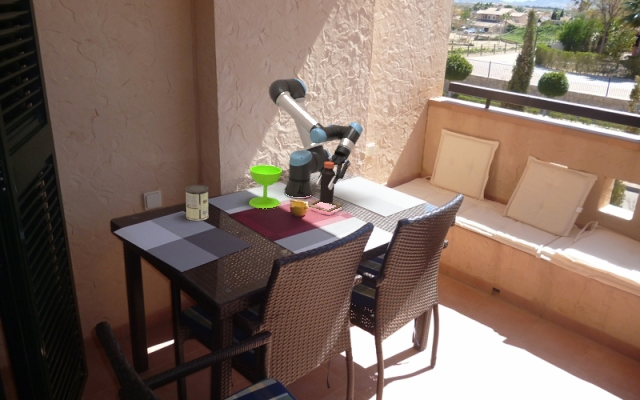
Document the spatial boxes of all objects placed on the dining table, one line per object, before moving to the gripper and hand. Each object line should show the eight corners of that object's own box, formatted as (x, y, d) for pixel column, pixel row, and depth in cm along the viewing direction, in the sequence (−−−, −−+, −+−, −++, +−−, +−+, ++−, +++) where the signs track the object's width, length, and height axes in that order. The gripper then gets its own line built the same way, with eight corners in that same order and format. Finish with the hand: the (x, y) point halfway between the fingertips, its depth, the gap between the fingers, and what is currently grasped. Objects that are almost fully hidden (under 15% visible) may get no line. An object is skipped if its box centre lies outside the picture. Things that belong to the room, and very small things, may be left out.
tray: (307, 209, 258) (307, 204, 258) (321, 202, 269) (321, 198, 268) (328, 215, 252) (329, 211, 251) (342, 209, 262) (342, 204, 262)
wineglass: (278, 210, 254) (280, 175, 248) (246, 207, 254) (247, 173, 248) (281, 199, 269) (283, 166, 263) (251, 197, 269) (252, 164, 263)
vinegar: (317, 199, 260) (320, 161, 254) (330, 198, 263) (333, 160, 256) (322, 203, 254) (325, 165, 248) (335, 202, 257) (338, 164, 250)
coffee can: (190, 211, 244) (189, 183, 239) (211, 214, 243) (211, 185, 238) (182, 219, 234) (182, 190, 229) (204, 222, 233) (204, 192, 229)
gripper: (362, 157, 258) (342, 195, 251) (331, 149, 268) (310, 186, 261) (358, 148, 252) (337, 187, 245) (326, 141, 262) (305, 178, 255)
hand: (323, 186), depth 253 cm, fingers closed on vinegar, 6 cm apart
